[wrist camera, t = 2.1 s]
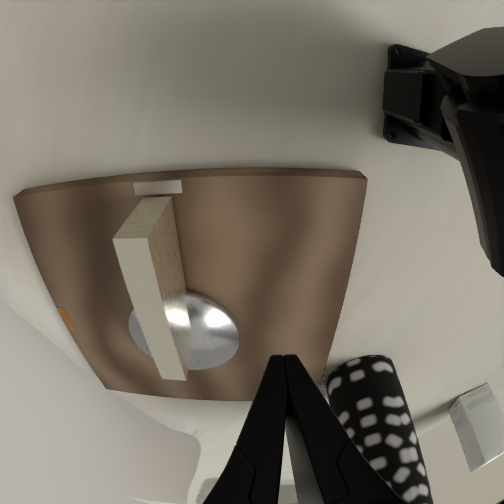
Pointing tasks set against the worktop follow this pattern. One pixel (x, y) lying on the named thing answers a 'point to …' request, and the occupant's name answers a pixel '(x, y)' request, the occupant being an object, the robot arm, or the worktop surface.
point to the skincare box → (479, 425)
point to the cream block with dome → (169, 297)
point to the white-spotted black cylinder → (380, 423)
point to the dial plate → (204, 266)
